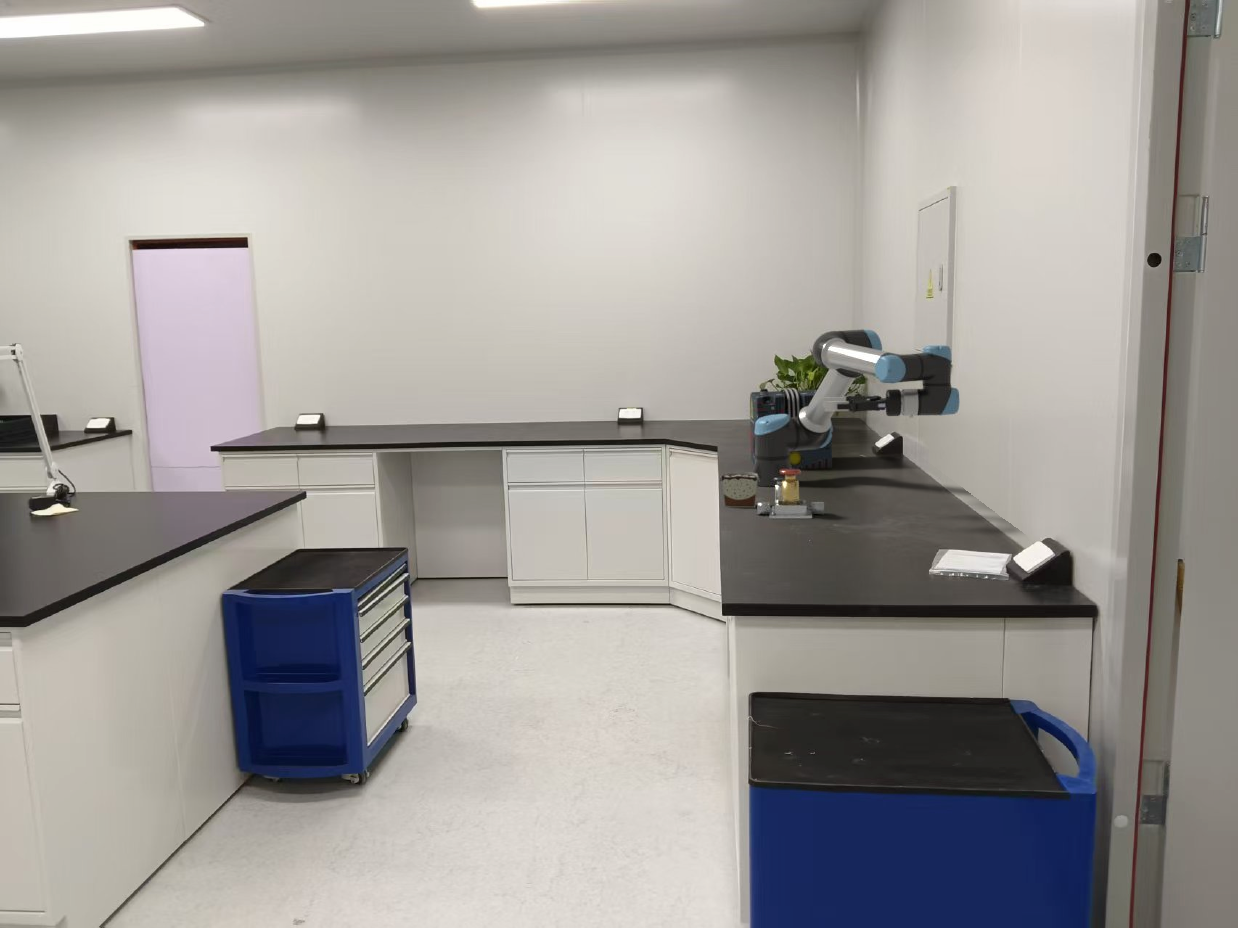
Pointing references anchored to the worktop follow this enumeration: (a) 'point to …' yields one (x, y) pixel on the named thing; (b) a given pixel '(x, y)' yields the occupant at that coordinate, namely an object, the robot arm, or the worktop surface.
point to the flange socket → (790, 509)
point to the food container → (739, 489)
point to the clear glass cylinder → (778, 487)
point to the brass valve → (790, 487)
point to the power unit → (789, 405)
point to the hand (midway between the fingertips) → (823, 404)
